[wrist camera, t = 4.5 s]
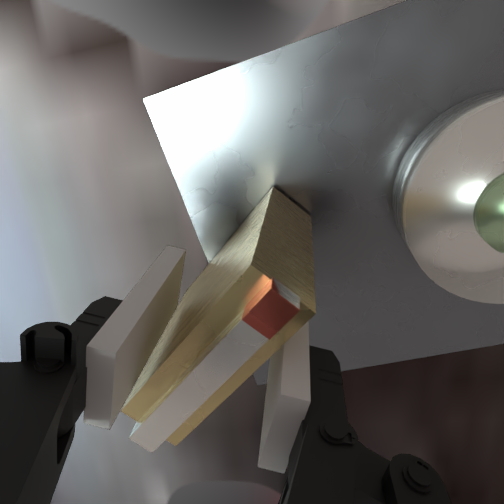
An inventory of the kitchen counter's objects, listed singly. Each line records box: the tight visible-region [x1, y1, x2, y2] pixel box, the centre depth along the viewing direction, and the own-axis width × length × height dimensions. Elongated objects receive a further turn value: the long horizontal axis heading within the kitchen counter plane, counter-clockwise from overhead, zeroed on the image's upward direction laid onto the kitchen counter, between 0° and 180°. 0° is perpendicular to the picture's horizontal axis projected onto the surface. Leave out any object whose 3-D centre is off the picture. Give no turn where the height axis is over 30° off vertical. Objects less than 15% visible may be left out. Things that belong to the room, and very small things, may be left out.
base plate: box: [143, 0, 504, 386], centre depth 16 cm, size 26×16×4 cm, turn 108°
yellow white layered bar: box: [121, 186, 316, 453], centre depth 15 cm, size 7×2×9 cm, turn 143°
